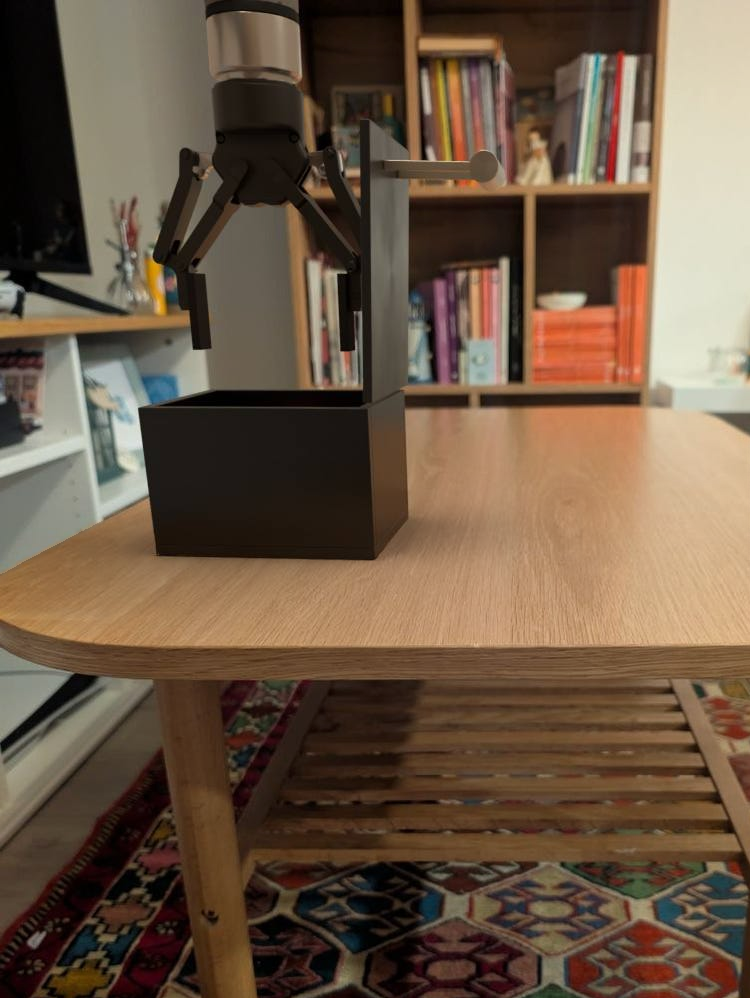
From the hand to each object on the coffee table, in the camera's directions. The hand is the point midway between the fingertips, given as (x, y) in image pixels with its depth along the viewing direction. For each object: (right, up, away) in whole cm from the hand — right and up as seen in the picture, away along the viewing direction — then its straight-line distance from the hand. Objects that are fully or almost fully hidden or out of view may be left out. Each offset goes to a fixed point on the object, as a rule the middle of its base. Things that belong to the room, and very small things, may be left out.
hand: (274, 350), depth 86 cm
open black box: (0, -16, +6) cm, 17 cm away
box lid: (+10, +6, -3) cm, 12 cm away
